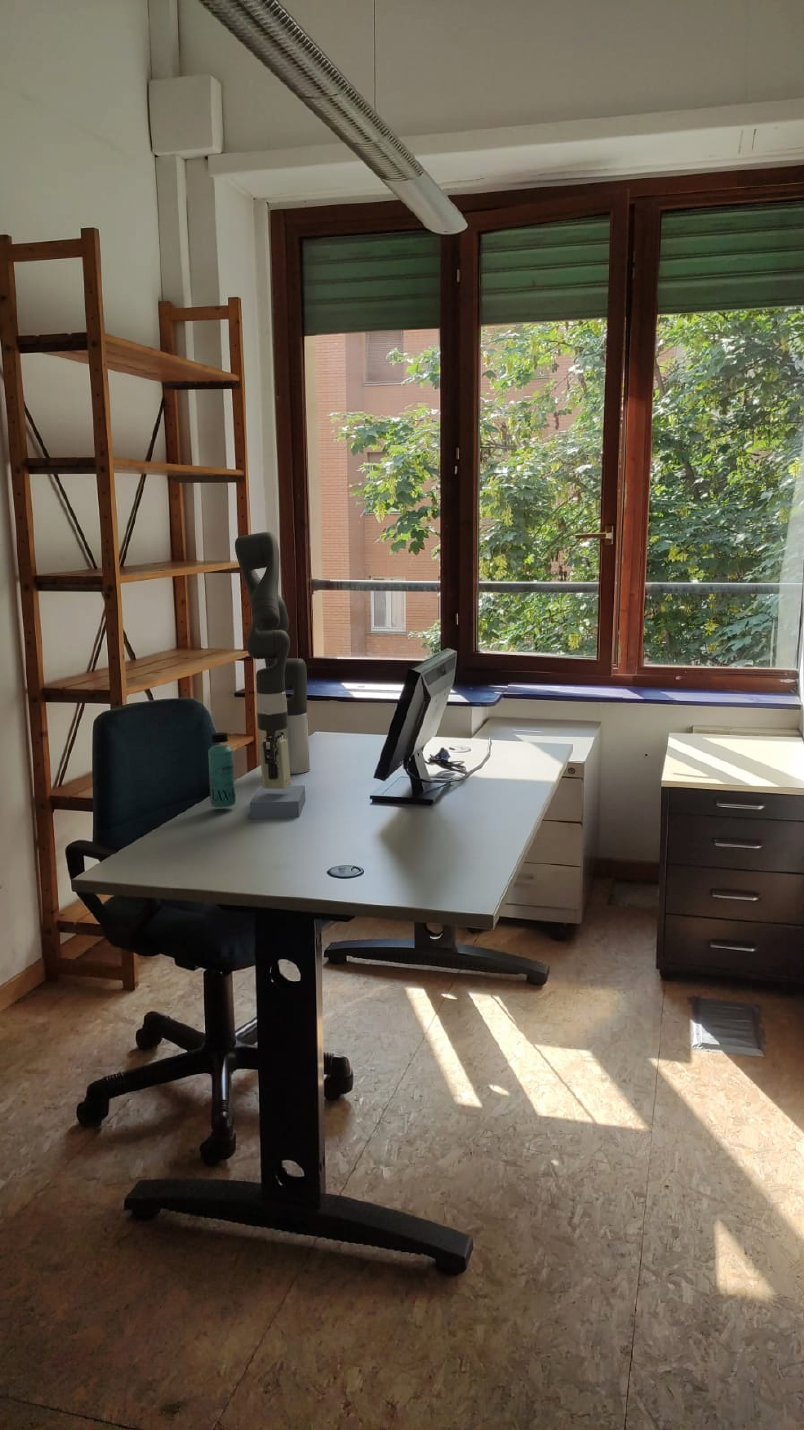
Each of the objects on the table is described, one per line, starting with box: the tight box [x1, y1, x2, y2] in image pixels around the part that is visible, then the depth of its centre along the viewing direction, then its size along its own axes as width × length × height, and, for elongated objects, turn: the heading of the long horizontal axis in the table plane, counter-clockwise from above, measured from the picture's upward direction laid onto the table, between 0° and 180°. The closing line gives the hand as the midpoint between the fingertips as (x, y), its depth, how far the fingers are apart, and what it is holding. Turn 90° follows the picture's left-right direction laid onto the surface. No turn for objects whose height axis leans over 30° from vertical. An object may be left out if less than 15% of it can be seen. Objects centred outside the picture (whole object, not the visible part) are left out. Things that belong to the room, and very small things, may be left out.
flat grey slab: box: [249, 785, 306, 820], centre depth 268 cm, size 16×12×4 cm
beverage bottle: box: [207, 731, 237, 808], centre depth 268 cm, size 6×7×20 cm
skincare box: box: [258, 739, 292, 789], centre depth 266 cm, size 6×4×12 cm
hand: (275, 775), depth 266 cm, fingers closed on skincare box, 5 cm apart
